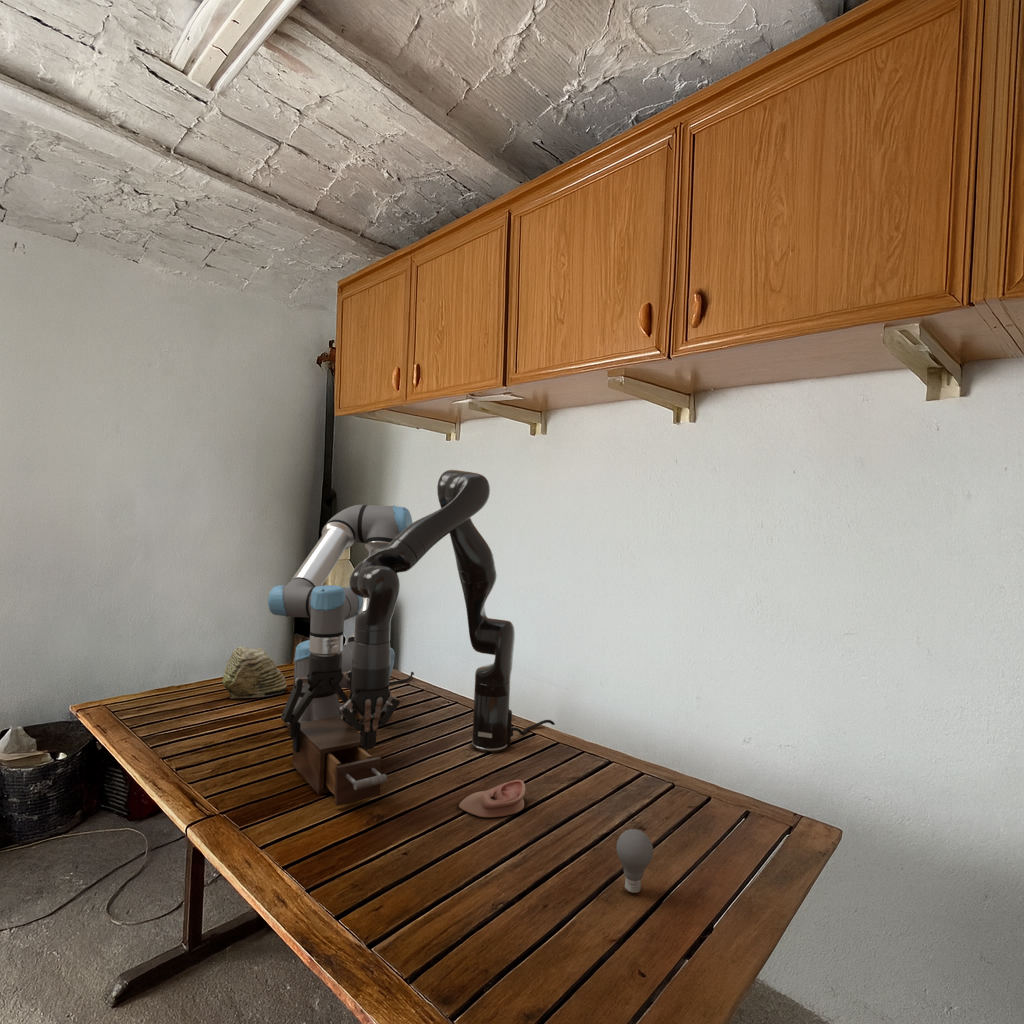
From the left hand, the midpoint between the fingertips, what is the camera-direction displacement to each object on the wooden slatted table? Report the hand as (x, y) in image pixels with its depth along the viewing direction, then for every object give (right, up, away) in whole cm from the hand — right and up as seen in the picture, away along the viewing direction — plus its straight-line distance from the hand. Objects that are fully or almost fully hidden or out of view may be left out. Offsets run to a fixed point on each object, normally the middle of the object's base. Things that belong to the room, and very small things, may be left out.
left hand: (322, 745), depth 148 cm
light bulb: (+64, -9, -42) cm, 78 cm away
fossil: (-36, -3, +50) cm, 62 cm away
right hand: (+15, +7, -20) cm, 26 cm away
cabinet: (+2, -5, -3) cm, 7 cm away
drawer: (+10, -5, -13) cm, 17 cm away
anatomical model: (+40, -7, -15) cm, 43 cm away
